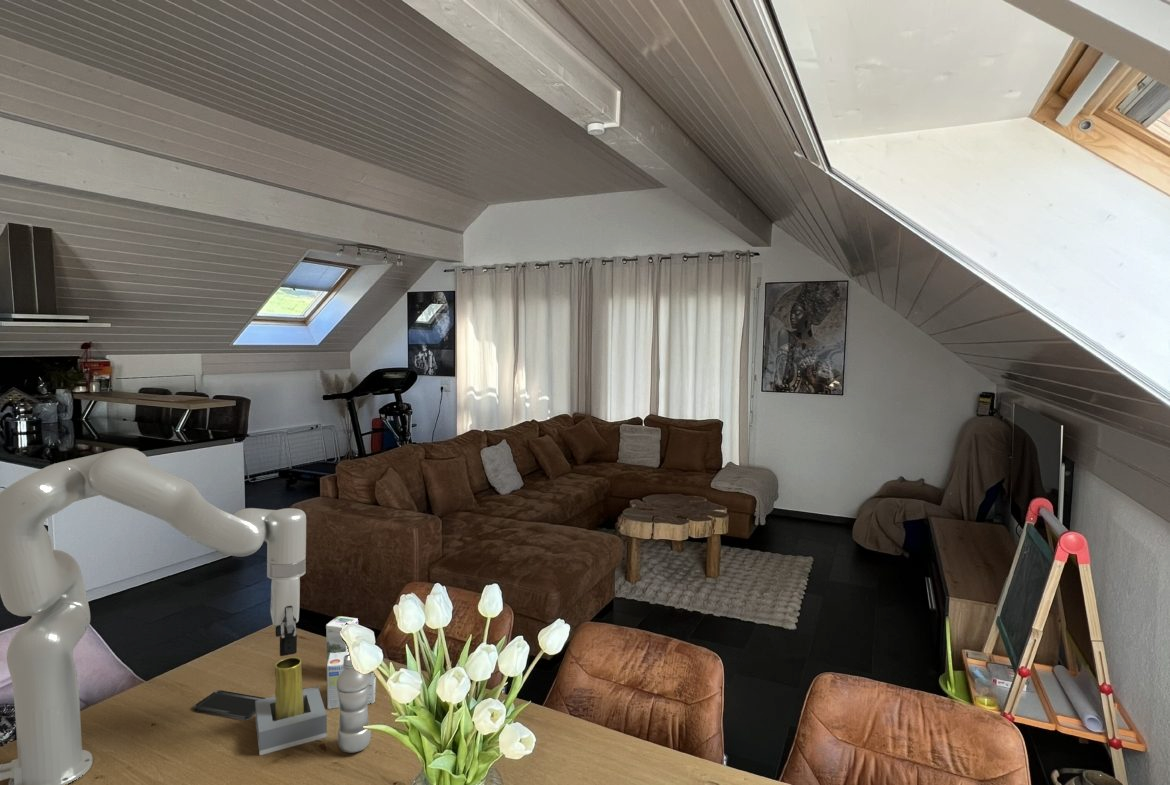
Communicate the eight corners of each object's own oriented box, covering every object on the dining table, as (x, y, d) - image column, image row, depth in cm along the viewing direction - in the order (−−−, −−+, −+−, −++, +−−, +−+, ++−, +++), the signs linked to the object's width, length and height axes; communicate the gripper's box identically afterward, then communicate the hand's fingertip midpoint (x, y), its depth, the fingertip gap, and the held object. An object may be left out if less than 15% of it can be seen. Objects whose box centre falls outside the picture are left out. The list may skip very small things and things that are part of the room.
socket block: (259, 755, 133) (259, 732, 133) (255, 722, 144) (255, 700, 144) (326, 736, 140) (326, 714, 139) (318, 706, 151) (317, 686, 151)
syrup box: (359, 671, 167) (359, 617, 166) (346, 683, 161) (345, 627, 160) (340, 668, 168) (339, 614, 167) (326, 680, 162) (325, 624, 161)
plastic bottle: (368, 756, 134) (367, 663, 132) (334, 758, 133) (332, 665, 131) (373, 736, 140) (372, 648, 138) (340, 739, 139) (339, 649, 137)
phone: (217, 689, 156) (271, 698, 152) (217, 694, 156) (271, 703, 153) (190, 707, 148) (246, 717, 145) (190, 712, 148) (246, 722, 145)
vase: (268, 726, 141) (267, 664, 140) (295, 713, 146) (293, 653, 145) (284, 737, 138) (282, 673, 136) (310, 723, 143) (309, 661, 141)
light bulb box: (376, 688, 159) (375, 646, 158) (375, 704, 153) (374, 660, 152) (329, 694, 156) (329, 651, 155) (326, 710, 150) (325, 665, 149)
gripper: (264, 557, 144) (263, 631, 146) (270, 583, 129) (269, 666, 131) (300, 552, 148) (299, 625, 149) (310, 578, 133) (309, 658, 135)
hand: (285, 644), depth 140 cm, fingers open, 9 cm apart
